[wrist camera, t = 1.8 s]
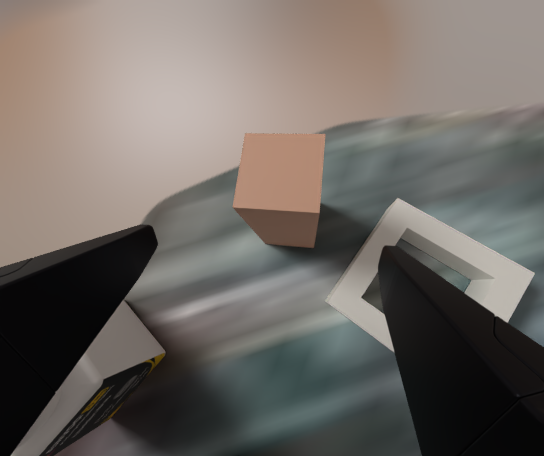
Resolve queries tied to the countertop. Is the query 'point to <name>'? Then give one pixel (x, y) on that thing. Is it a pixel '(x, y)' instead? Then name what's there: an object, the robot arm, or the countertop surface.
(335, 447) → the countertop surface
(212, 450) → the countertop surface
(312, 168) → the plug
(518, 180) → the countertop surface
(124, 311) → the printed box
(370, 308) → the socket block
